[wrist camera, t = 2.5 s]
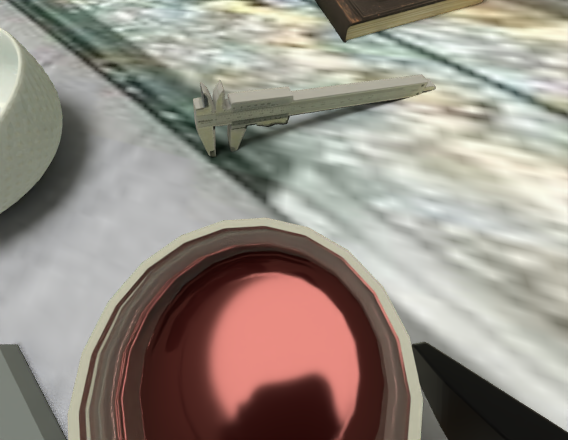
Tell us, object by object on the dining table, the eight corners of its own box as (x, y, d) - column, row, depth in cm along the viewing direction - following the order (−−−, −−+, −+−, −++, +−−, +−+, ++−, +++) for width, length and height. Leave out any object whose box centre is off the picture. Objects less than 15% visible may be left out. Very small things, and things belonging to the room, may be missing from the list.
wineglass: (313, 450, 14) (355, 800, 3) (203, 387, 16) (-19, 484, 5) (356, 323, 17) (460, 283, 6) (256, 278, 18) (189, 178, 7)
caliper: (211, 161, 23) (181, 99, 17) (208, 151, 23) (178, 87, 17) (434, 92, 24) (475, 15, 19) (427, 83, 25) (465, 6, 19)
